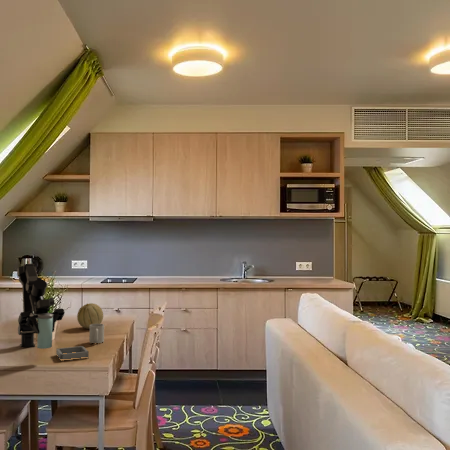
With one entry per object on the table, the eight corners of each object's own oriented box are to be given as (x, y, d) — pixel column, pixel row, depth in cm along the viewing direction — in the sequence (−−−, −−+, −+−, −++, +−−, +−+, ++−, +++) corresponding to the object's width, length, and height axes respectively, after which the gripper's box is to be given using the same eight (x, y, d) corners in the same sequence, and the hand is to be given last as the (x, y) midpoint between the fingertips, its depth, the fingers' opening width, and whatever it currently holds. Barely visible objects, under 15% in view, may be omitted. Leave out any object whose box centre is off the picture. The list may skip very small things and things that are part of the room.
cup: (104, 340, 253) (104, 323, 253) (103, 345, 243) (103, 327, 243) (89, 341, 251) (90, 323, 251) (88, 345, 242) (88, 327, 242)
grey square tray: (56, 355, 223) (56, 348, 223) (82, 352, 228) (83, 345, 228) (60, 361, 212) (60, 354, 212) (88, 358, 218) (88, 351, 218)
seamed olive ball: (106, 326, 290) (107, 301, 290) (97, 331, 275) (98, 305, 275) (82, 325, 291) (83, 300, 291) (72, 330, 277) (73, 304, 277)
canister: (38, 345, 213) (39, 313, 213) (53, 344, 214) (54, 313, 214) (35, 348, 207) (36, 315, 207) (50, 348, 208) (51, 315, 208)
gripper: (20, 293, 208) (27, 323, 199) (63, 290, 219) (72, 318, 211) (14, 309, 214) (21, 339, 205) (57, 305, 225) (65, 333, 217)
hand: (46, 332), depth 209 cm, fingers closed on canister, 6 cm apart
